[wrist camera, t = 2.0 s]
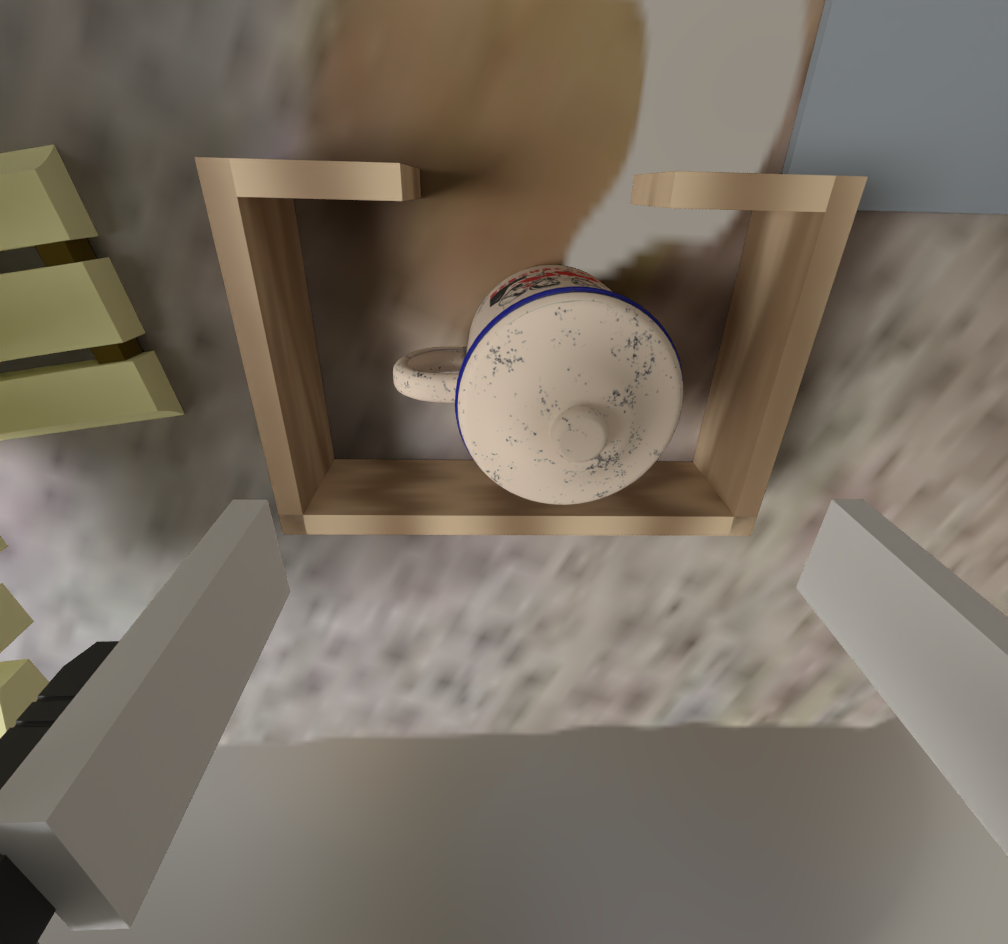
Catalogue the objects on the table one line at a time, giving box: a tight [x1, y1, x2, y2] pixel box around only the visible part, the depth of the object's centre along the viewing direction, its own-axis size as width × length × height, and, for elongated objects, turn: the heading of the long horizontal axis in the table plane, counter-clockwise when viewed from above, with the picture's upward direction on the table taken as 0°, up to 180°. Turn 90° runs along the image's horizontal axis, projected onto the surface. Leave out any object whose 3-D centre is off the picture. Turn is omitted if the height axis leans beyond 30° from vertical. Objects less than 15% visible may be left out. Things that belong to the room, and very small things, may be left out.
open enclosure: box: [194, 157, 868, 536], centre depth 25 cm, size 24×16×6 cm
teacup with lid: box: [393, 265, 683, 505], centre depth 22 cm, size 12×9×12 cm
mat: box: [782, 0, 1008, 214], centre depth 21 cm, size 14×14×1 cm
